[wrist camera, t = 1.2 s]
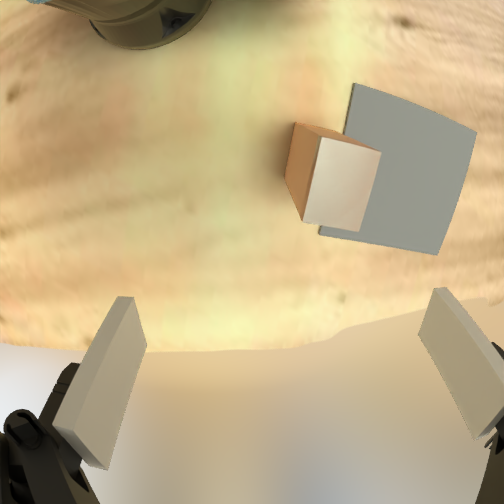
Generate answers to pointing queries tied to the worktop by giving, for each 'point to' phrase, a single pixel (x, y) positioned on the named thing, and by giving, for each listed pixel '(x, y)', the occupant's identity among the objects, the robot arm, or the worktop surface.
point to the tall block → (330, 176)
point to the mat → (407, 171)
